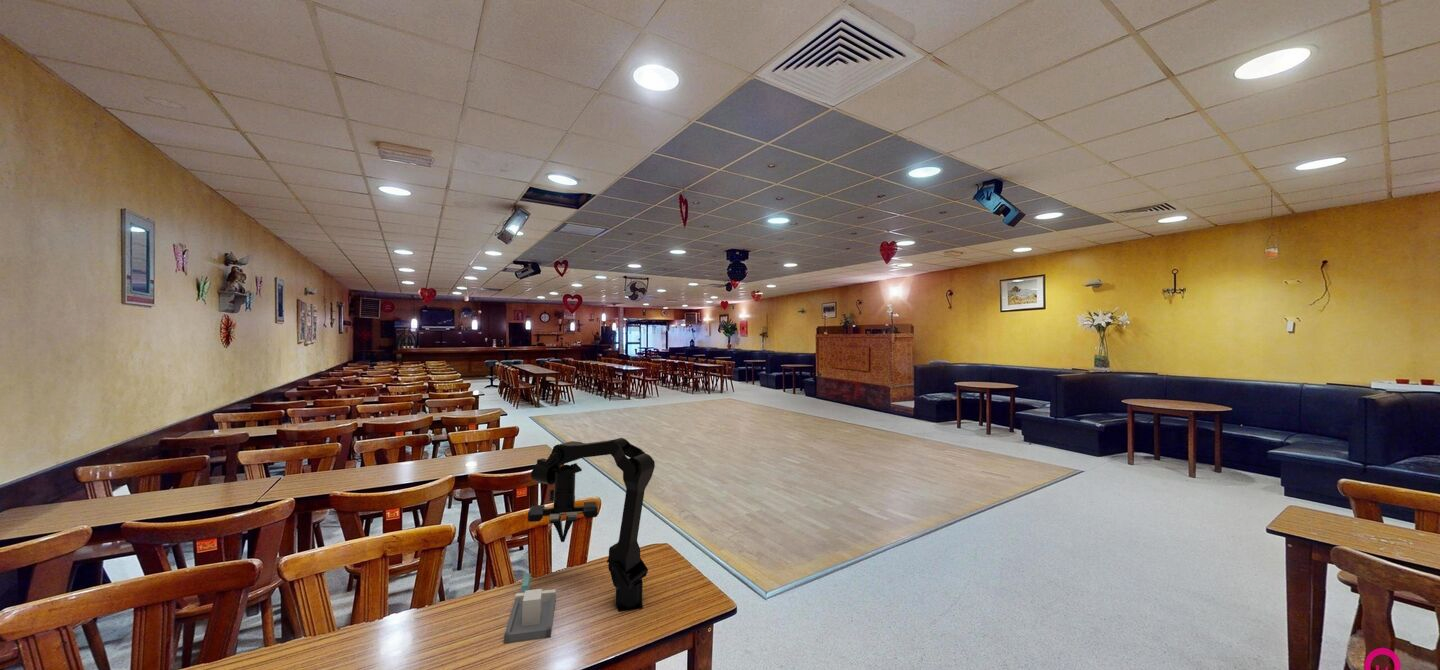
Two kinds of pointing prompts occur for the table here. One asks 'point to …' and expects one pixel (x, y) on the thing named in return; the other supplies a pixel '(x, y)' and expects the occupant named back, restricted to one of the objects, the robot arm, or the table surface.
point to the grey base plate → (531, 632)
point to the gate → (526, 586)
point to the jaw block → (532, 607)
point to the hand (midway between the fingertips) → (562, 541)
